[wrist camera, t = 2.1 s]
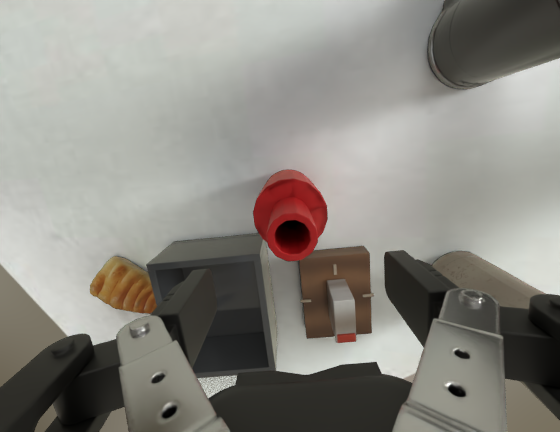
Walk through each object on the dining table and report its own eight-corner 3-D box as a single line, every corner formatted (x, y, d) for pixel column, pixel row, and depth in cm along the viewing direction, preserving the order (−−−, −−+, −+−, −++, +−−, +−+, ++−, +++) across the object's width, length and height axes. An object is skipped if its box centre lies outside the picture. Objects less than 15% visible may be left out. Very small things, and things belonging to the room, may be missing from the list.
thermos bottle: (474, 305, 38) (972, 713, 10) (419, 298, 37) (780, 694, 10) (492, 254, 36) (1166, 591, 8) (435, 247, 35) (930, 565, 8)
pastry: (176, 282, 37) (164, 296, 34) (157, 316, 39) (143, 334, 35) (115, 250, 36) (95, 262, 33) (98, 287, 38) (77, 302, 34)
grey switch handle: (326, 280, 34) (333, 302, 29) (344, 278, 34) (355, 301, 29) (329, 316, 35) (336, 344, 30) (346, 315, 35) (357, 342, 30)
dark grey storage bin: (174, 241, 36) (145, 264, 29) (264, 232, 35) (259, 253, 28) (195, 337, 40) (175, 380, 32) (277, 331, 39) (276, 372, 32)
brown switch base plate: (295, 252, 36) (296, 260, 33) (366, 245, 36) (372, 252, 33) (303, 327, 39) (304, 339, 36) (368, 321, 38) (374, 334, 36)
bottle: (260, 172, 33) (236, 194, 17) (311, 166, 33) (338, 183, 17) (266, 222, 35) (250, 286, 18) (315, 217, 35) (343, 277, 18)
